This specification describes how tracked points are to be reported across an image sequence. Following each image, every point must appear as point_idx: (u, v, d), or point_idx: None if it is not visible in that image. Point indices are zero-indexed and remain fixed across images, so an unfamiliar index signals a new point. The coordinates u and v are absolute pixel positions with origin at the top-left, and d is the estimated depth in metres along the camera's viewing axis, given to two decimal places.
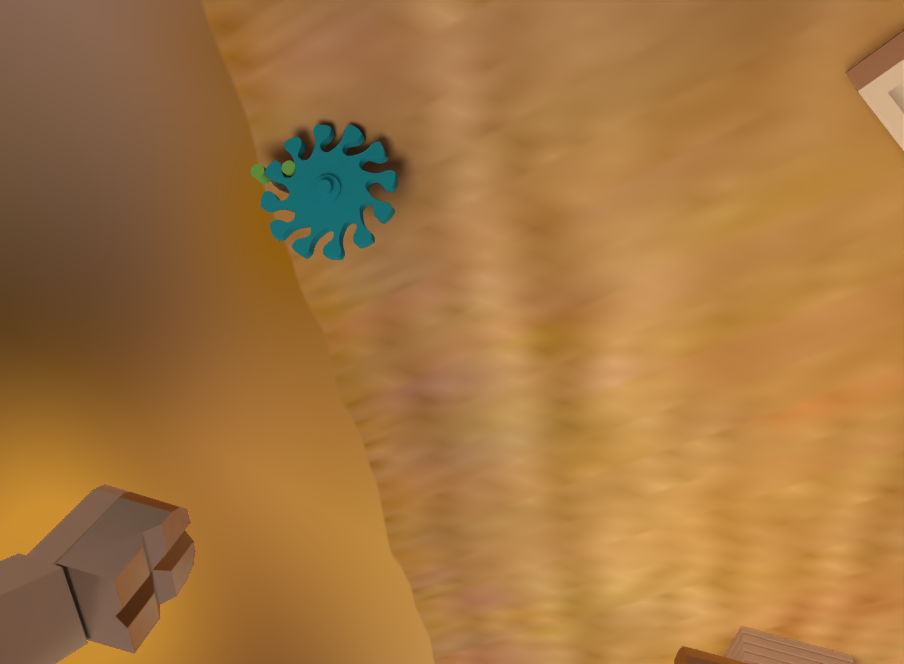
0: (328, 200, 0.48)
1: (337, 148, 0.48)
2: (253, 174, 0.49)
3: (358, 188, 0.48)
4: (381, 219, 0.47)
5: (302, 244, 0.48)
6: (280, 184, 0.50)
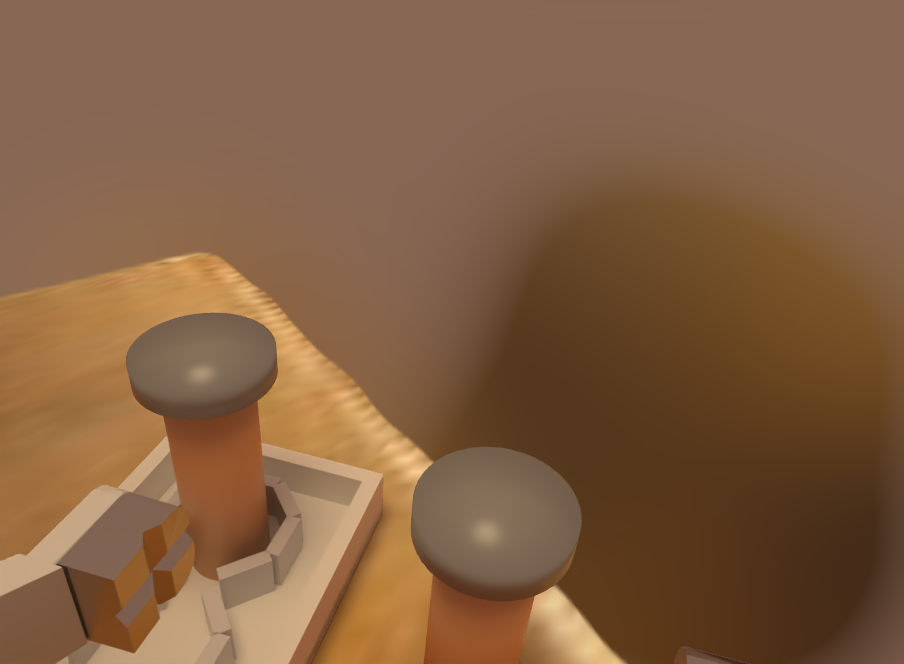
0: None
1: None
2: None
3: None
4: None
5: None
6: None
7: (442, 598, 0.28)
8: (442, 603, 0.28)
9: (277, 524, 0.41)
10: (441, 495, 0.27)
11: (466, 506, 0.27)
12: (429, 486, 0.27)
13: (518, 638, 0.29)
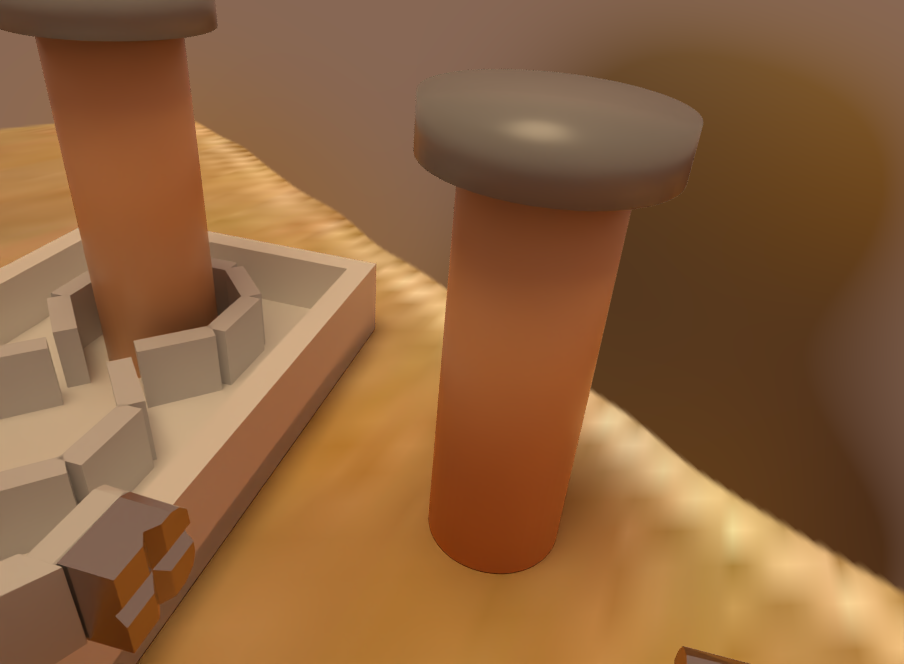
0: None
1: None
2: None
3: None
4: None
5: None
6: None
7: (466, 281, 0.17)
8: (466, 291, 0.17)
9: None
10: (463, 89, 0.16)
11: (507, 97, 0.16)
12: (443, 83, 0.17)
13: (586, 363, 0.18)
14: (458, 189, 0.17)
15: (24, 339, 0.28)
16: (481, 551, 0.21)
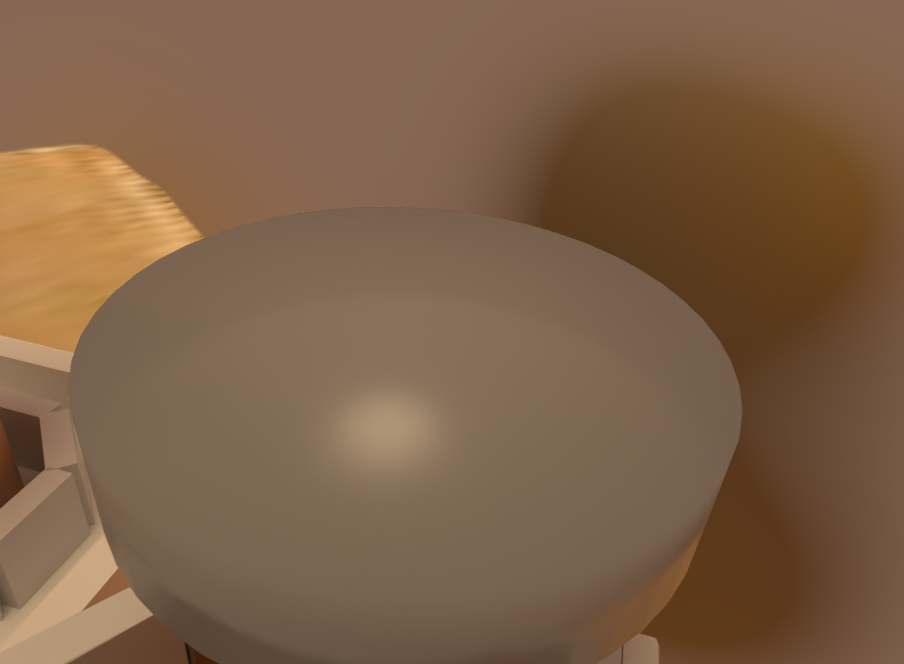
0: None
1: None
2: None
3: None
4: None
5: None
6: None
7: None
8: None
9: None
10: (219, 297, 0.07)
11: (302, 326, 0.07)
12: (187, 275, 0.08)
13: None
14: None
15: None
16: None
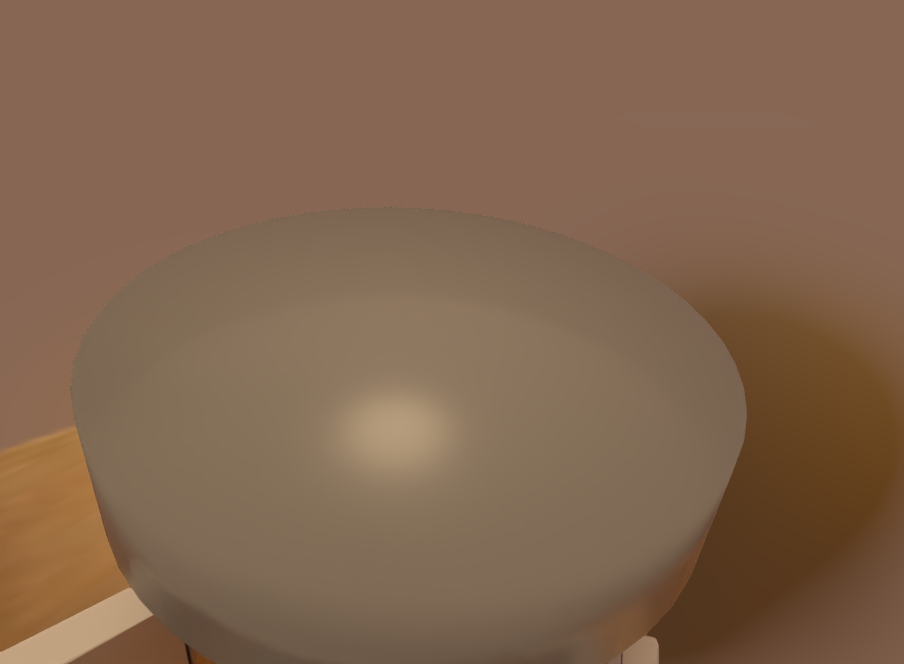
0: None
1: None
2: None
3: None
4: None
5: None
6: None
7: None
8: None
9: None
10: (220, 297, 0.07)
11: (304, 327, 0.07)
12: (189, 276, 0.08)
13: None
14: None
15: None
16: None
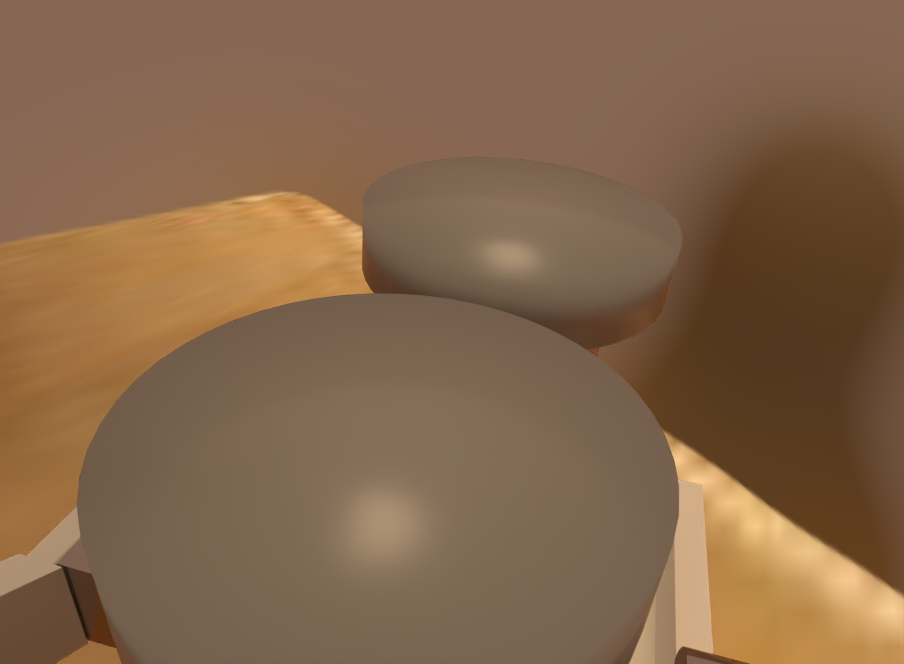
0: None
1: None
2: None
3: None
4: None
5: None
6: None
7: None
8: None
9: None
10: (211, 401, 0.08)
11: (286, 432, 0.08)
12: (183, 378, 0.09)
13: None
14: None
15: None
16: None
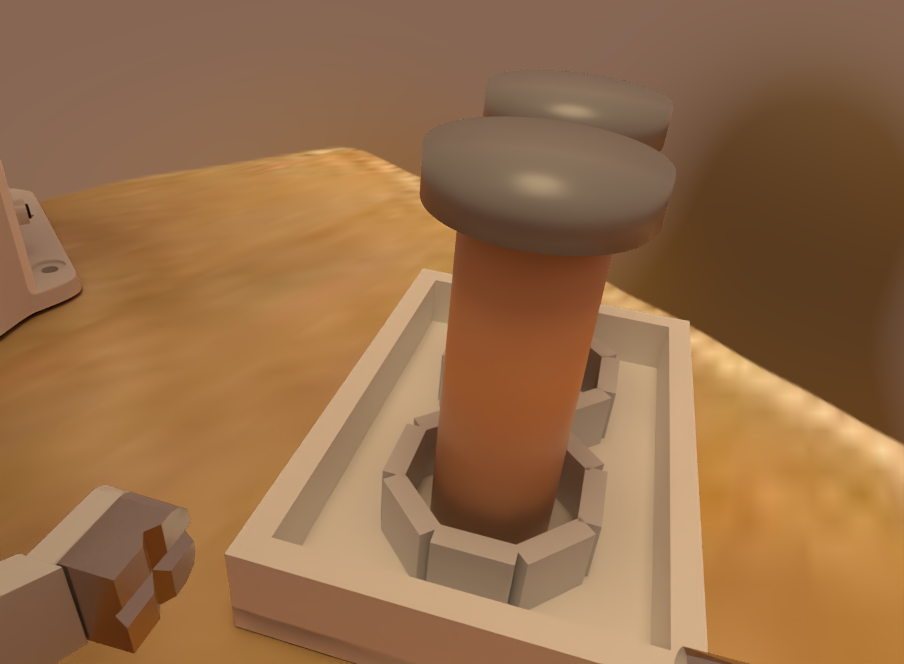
0: None
1: None
2: None
3: None
4: None
5: None
6: None
7: (465, 309, 0.19)
8: (465, 318, 0.19)
9: None
10: (465, 140, 0.18)
11: (503, 149, 0.18)
12: (447, 134, 0.19)
13: (573, 383, 0.20)
14: None
15: (399, 393, 0.32)
16: None
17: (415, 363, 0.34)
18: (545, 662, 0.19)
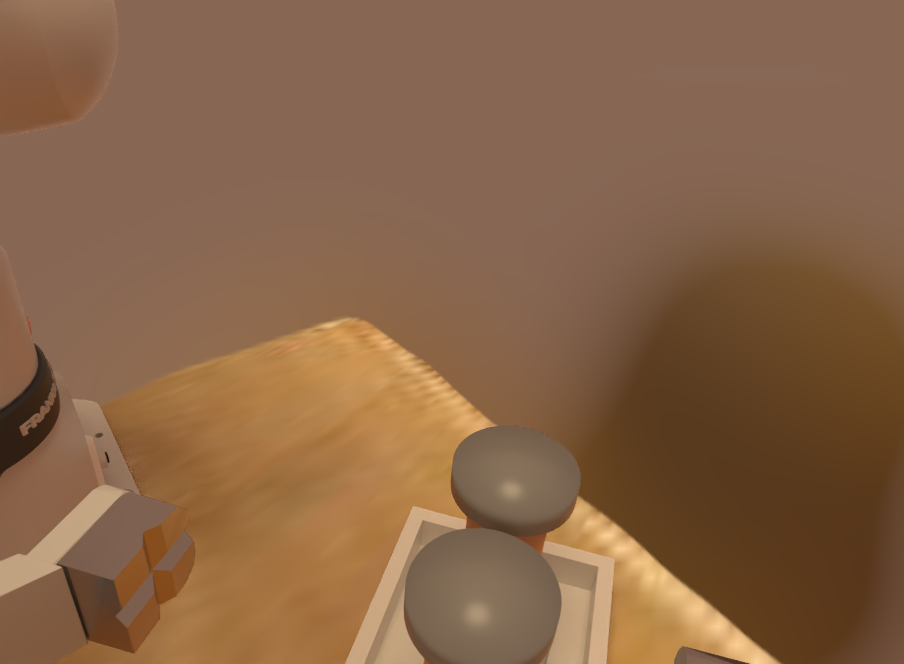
0: None
1: None
2: None
3: None
4: None
5: None
6: None
7: None
8: None
9: None
10: (431, 579, 0.29)
11: (455, 590, 0.29)
12: (420, 570, 0.29)
13: None
14: None
15: (394, 628, 0.42)
16: None
17: None
18: None
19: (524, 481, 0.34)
